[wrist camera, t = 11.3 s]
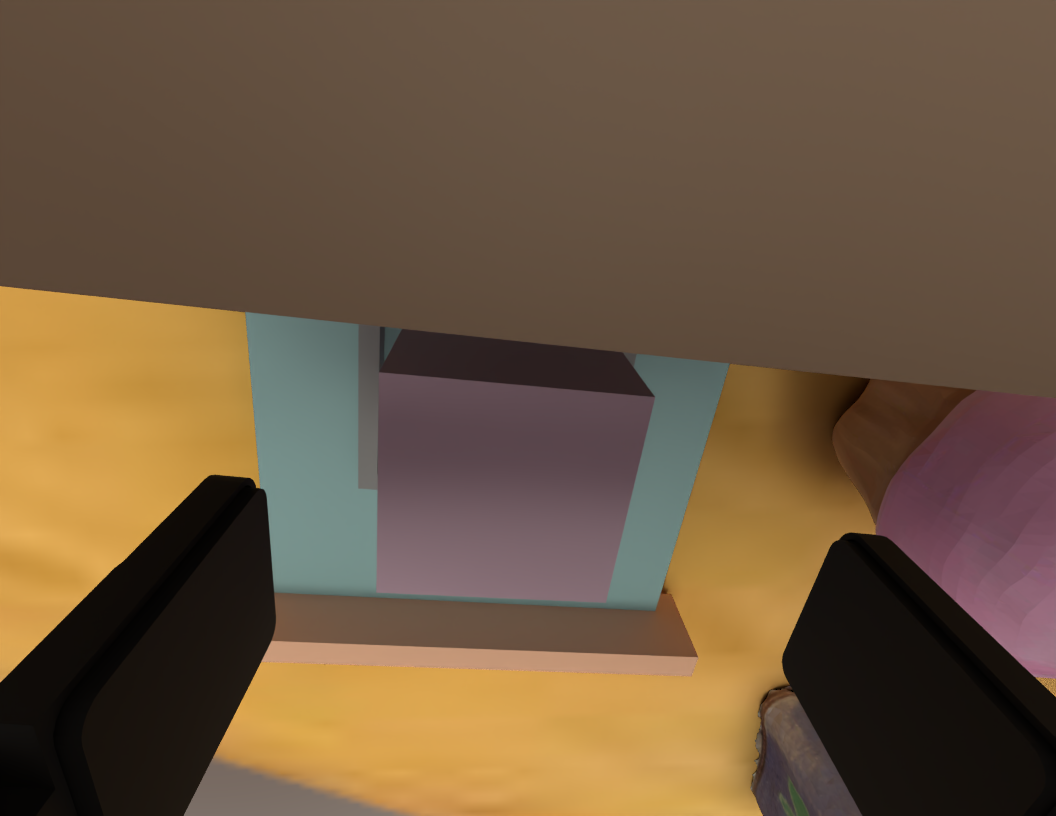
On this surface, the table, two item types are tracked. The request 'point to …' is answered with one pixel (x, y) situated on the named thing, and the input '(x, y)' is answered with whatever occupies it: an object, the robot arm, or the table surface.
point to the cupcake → (966, 499)
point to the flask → (795, 764)
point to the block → (505, 466)
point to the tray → (434, 620)
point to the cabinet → (556, 172)
